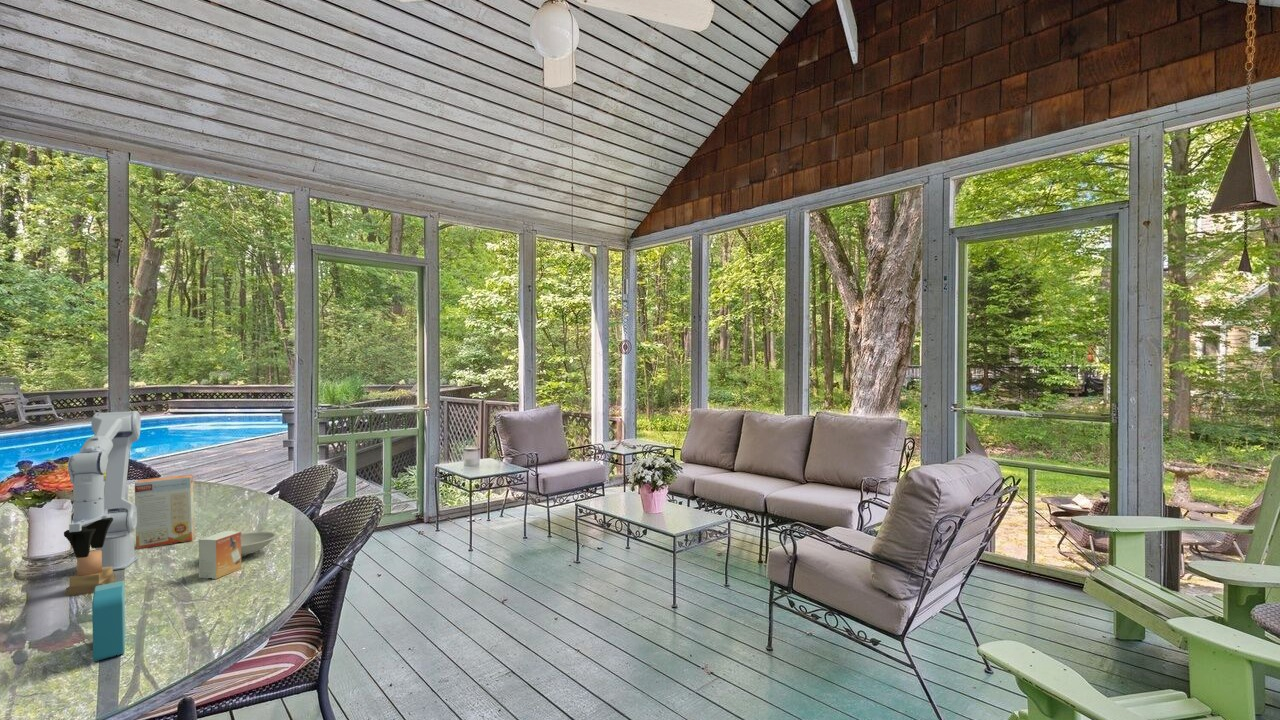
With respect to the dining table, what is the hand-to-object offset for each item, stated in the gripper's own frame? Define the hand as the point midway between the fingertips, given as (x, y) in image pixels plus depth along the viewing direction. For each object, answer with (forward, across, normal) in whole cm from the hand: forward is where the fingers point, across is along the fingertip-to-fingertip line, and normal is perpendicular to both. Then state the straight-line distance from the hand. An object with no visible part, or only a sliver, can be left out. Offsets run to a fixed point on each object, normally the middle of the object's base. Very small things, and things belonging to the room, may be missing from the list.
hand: (90, 552), depth 148 cm
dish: (+10, +13, -30) cm, 34 cm away
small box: (+10, -1, -28) cm, 30 cm away
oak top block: (+8, 0, 0) cm, 8 cm away
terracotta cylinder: (+5, 0, 0) cm, 5 cm away
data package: (+10, -41, -19) cm, 46 cm away
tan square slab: (+10, 0, 0) cm, 10 cm away
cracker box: (+10, +38, -4) cm, 39 cm away
